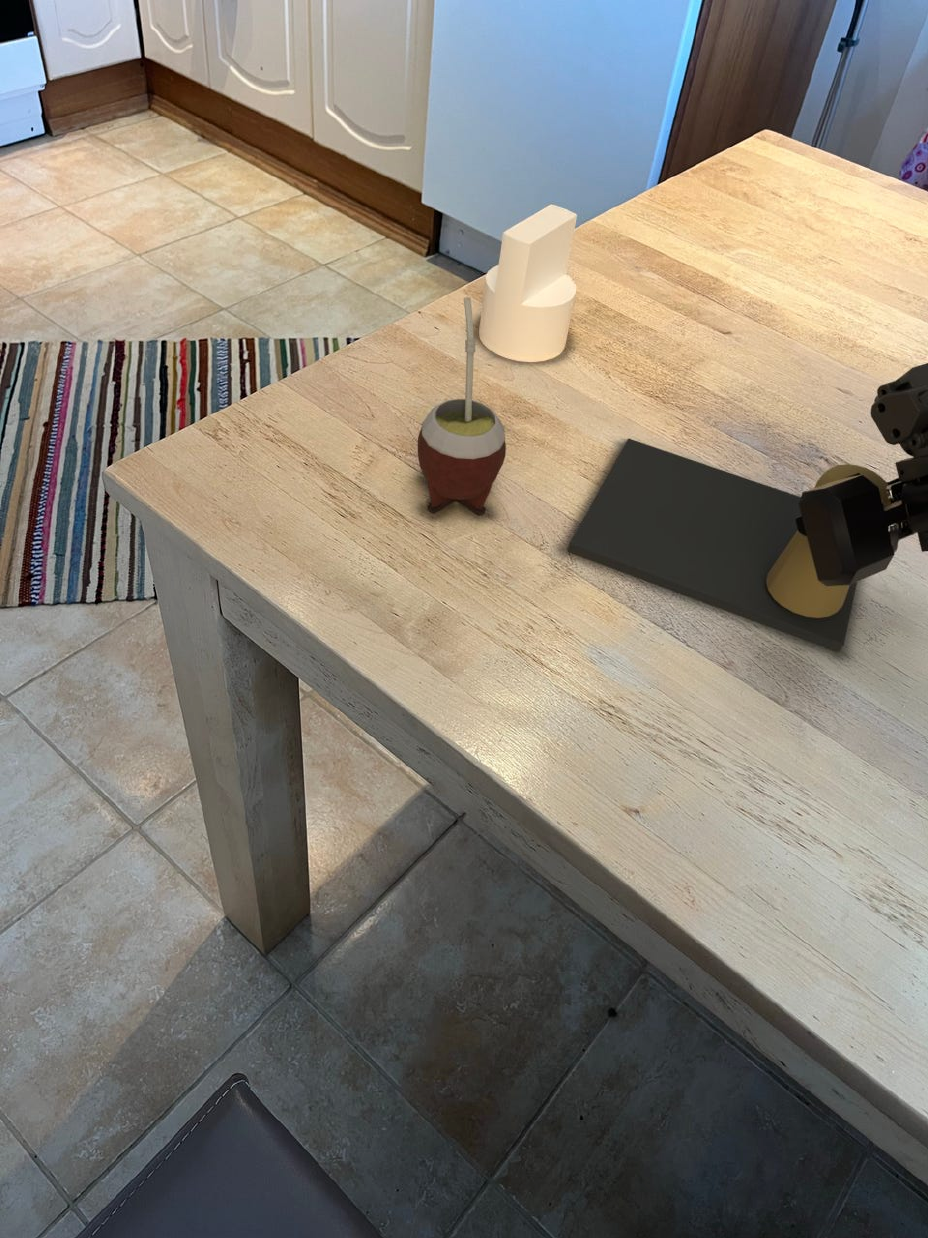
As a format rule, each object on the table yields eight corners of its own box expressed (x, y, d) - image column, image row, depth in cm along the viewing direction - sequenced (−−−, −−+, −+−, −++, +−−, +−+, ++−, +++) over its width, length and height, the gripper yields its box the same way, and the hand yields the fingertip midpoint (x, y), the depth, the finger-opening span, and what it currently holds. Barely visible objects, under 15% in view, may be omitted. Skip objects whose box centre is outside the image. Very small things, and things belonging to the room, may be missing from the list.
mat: (865, 529, 82) (870, 520, 81) (838, 653, 72) (843, 644, 71) (625, 446, 86) (628, 437, 86) (567, 552, 76) (569, 543, 75)
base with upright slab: (509, 305, 101) (526, 192, 93) (581, 337, 99) (605, 224, 90) (461, 337, 96) (474, 221, 87) (536, 372, 93) (557, 256, 84)
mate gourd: (457, 536, 76) (478, 375, 65) (389, 487, 79) (397, 326, 68) (517, 497, 80) (546, 339, 69) (450, 452, 83) (467, 294, 72)
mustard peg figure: (840, 571, 76) (900, 461, 68) (846, 625, 71) (910, 514, 63) (765, 555, 76) (815, 444, 68) (766, 608, 72) (820, 496, 64)
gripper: (1093, 320, 58) (884, 380, 73) (887, 385, 51) (699, 438, 65) (1129, 495, 60) (917, 521, 74) (934, 583, 52) (740, 593, 66)
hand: (823, 514), depth 70 cm, fingers closed on mustard peg figure, 5 cm apart
